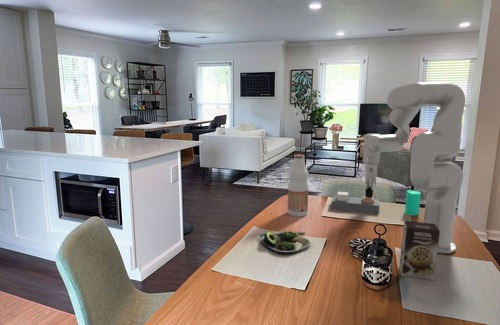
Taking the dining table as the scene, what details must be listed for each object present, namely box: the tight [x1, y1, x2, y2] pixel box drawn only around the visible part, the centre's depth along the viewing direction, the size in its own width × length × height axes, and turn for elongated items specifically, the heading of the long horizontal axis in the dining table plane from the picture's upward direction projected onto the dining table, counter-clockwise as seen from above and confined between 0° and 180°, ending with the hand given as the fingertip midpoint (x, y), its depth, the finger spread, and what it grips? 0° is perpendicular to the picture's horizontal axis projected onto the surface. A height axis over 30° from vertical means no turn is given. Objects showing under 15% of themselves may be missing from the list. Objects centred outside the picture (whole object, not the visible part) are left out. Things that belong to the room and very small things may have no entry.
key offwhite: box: [336, 191, 349, 201], centre depth 166 cm, size 5×5×4 cm
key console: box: [330, 195, 381, 215], centre depth 165 cm, size 22×10×4 cm, turn 72°
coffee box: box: [398, 220, 440, 281], centre depth 103 cm, size 9×6×16 cm
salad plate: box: [258, 230, 312, 256], centre depth 126 cm, size 19×18×5 cm
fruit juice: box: [287, 154, 310, 217], centre depth 155 cm, size 9×9×28 cm
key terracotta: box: [362, 195, 375, 204], centre depth 163 cm, size 5×5×4 cm
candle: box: [404, 189, 422, 216], centre depth 157 cm, size 6×6×12 cm
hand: (368, 196), depth 162 cm, fingers closed
